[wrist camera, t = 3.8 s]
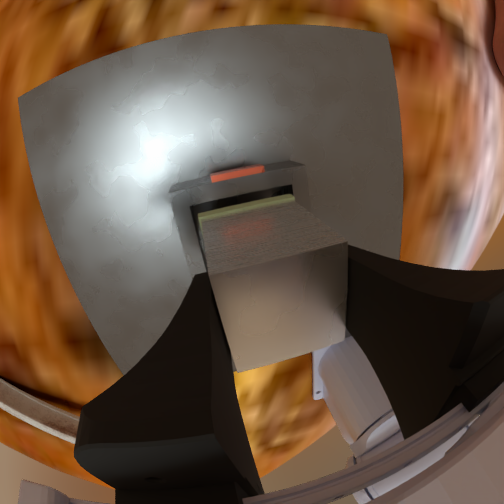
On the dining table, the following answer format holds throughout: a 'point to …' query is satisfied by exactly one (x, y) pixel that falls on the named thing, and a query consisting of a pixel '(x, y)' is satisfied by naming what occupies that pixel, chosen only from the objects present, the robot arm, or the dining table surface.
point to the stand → (208, 158)
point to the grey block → (275, 279)
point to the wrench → (38, 412)
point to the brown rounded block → (499, 35)
